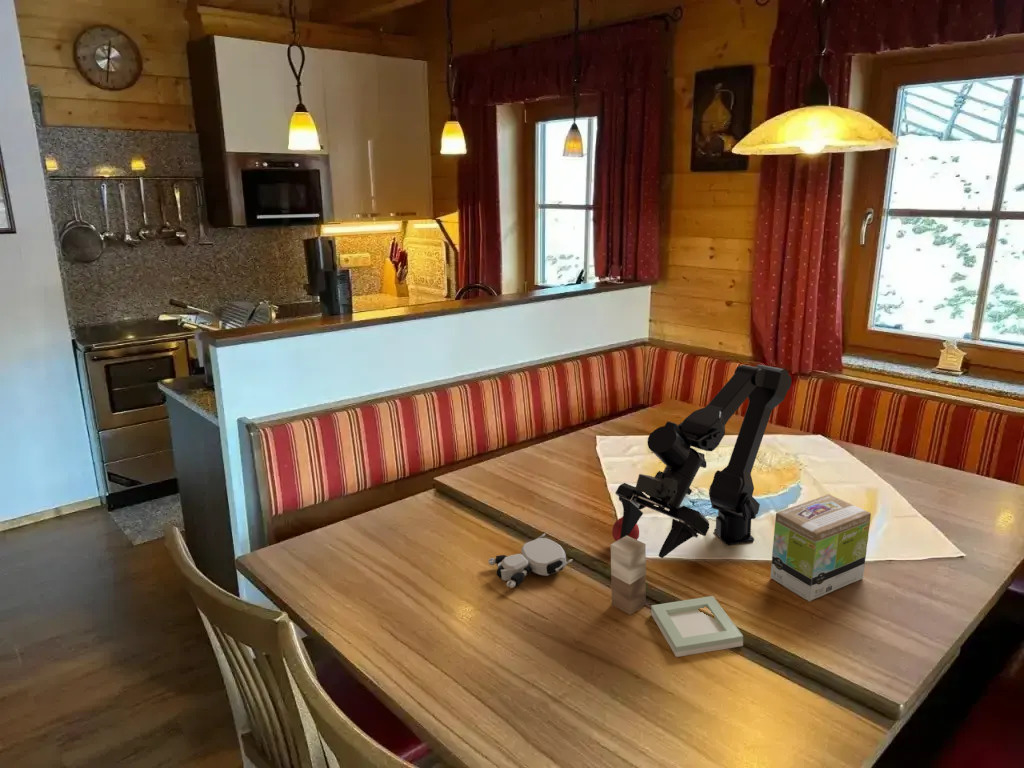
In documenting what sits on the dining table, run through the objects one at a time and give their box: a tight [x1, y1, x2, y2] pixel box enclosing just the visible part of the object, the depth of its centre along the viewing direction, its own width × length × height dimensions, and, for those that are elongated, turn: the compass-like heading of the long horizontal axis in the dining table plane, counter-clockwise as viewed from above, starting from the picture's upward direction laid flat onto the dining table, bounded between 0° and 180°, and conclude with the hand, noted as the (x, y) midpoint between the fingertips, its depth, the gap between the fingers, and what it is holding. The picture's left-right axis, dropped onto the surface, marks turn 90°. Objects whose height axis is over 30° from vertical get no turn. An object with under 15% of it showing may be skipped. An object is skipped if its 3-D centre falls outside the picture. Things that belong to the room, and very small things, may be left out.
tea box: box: [769, 494, 872, 602], centre depth 136 cm, size 15×10×15 cm, turn 117°
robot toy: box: [488, 533, 574, 588], centre depth 146 cm, size 12×4×15 cm
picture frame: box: [650, 595, 744, 658], centre depth 125 cm, size 12×12×2 cm
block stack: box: [610, 535, 647, 616], centre depth 132 cm, size 4×4×13 cm
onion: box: [611, 516, 640, 542], centre depth 152 cm, size 6×6×8 cm
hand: (640, 547), depth 133 cm, fingers open, 9 cm apart
